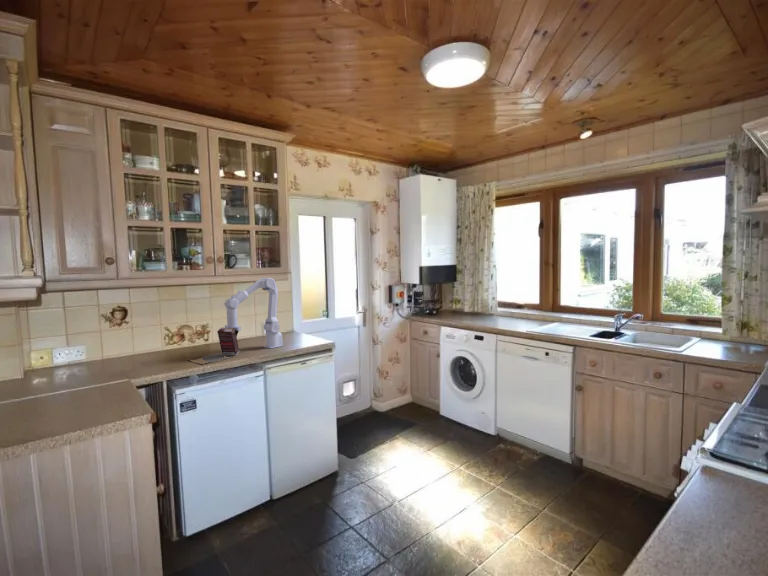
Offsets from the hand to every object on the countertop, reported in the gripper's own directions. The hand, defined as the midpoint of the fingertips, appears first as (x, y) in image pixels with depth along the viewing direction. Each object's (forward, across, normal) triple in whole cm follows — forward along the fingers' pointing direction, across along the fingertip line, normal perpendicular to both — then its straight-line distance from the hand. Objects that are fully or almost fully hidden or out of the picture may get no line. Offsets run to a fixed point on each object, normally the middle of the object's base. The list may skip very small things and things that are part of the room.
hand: (233, 341), depth 227 cm
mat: (+8, 0, -14) cm, 16 cm away
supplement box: (+7, 0, -2) cm, 7 cm away
